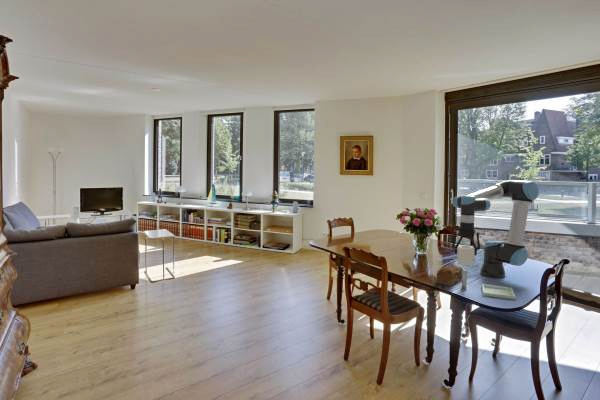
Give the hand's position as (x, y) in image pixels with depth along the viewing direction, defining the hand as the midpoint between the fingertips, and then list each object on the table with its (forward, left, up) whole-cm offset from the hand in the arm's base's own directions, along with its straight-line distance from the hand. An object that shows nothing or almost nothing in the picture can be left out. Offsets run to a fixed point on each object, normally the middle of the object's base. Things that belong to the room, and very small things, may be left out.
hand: (465, 259), depth 225 cm
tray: (0, +18, -18) cm, 25 cm away
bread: (-12, -8, -18) cm, 24 cm away
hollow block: (0, 0, -2) cm, 2 cm away
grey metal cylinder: (0, 0, -18) cm, 18 cm away
